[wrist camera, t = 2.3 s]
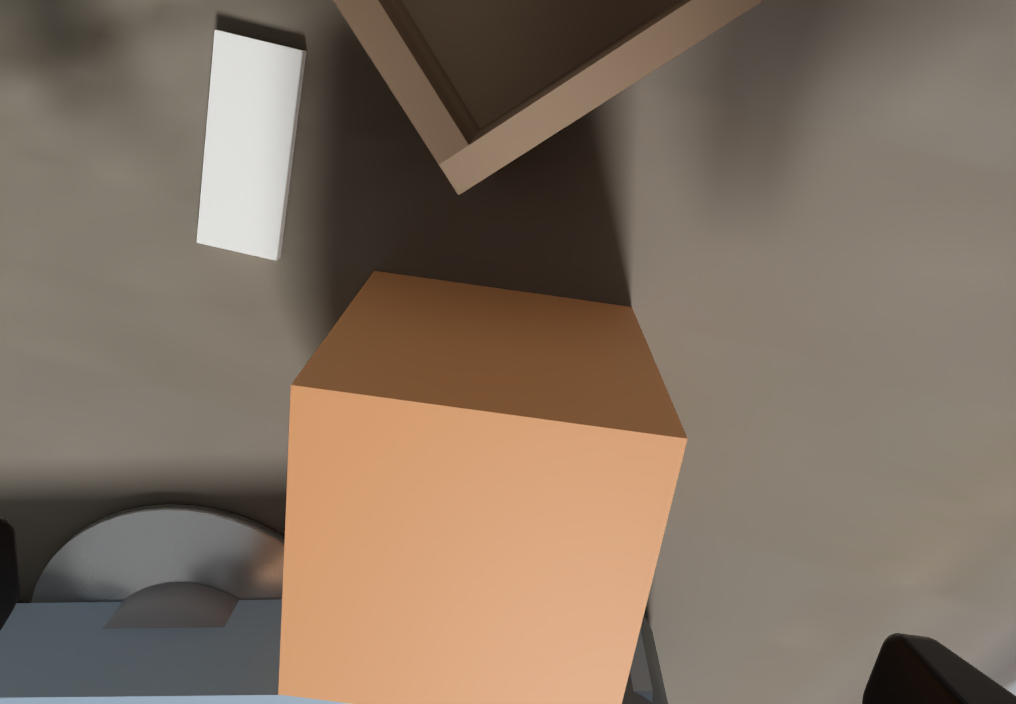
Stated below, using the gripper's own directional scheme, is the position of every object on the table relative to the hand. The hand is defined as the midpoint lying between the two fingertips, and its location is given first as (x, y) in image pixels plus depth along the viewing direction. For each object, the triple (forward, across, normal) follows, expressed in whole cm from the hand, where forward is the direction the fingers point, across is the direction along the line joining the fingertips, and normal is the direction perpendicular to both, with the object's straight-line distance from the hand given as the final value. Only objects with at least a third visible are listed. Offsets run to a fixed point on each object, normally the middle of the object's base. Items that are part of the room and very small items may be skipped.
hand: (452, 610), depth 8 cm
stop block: (+5, 0, 0) cm, 5 cm away
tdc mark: (+5, +4, -4) cm, 7 cm away
